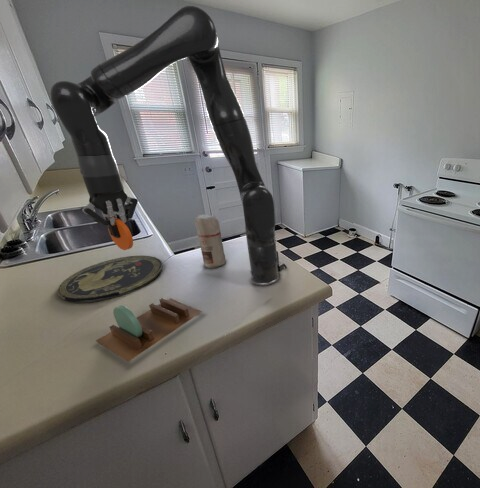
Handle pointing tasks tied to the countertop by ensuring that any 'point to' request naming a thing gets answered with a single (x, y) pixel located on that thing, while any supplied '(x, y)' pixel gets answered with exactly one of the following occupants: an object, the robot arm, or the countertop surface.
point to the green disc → (127, 321)
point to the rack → (149, 328)
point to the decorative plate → (110, 279)
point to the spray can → (210, 240)
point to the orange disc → (123, 236)
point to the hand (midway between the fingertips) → (121, 235)
